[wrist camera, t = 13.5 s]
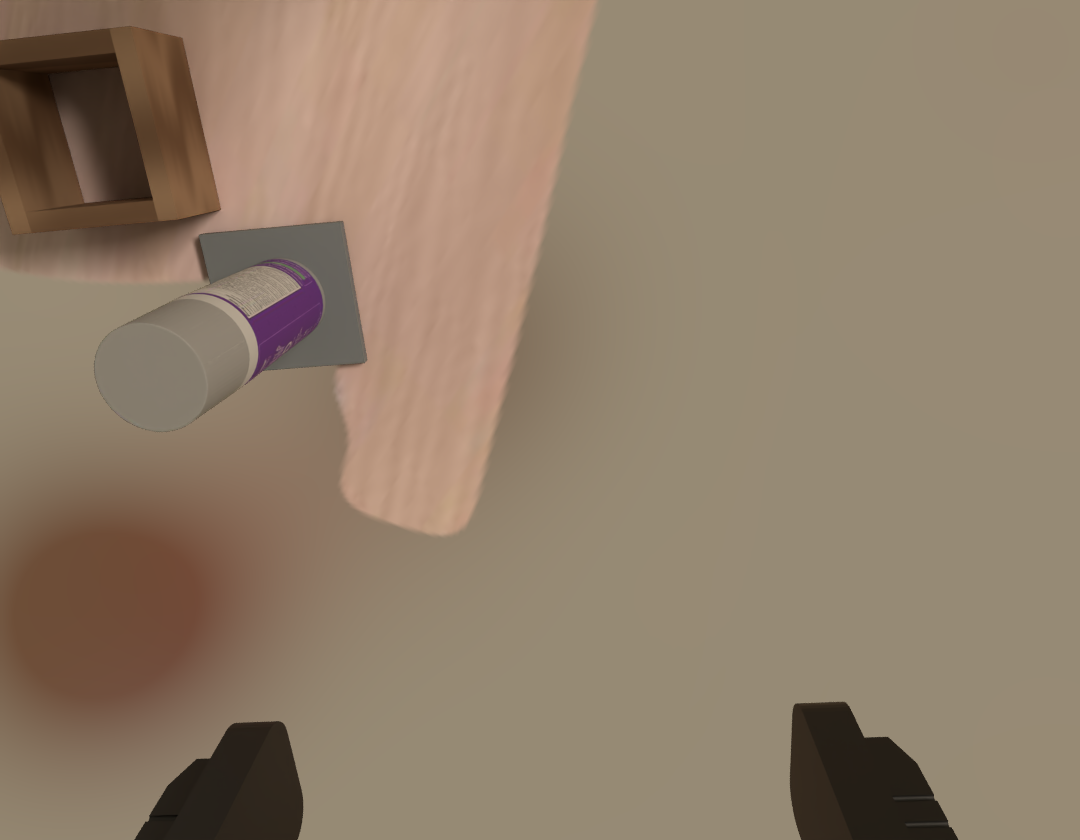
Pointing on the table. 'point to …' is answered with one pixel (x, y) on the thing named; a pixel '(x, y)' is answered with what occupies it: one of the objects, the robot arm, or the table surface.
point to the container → (206, 344)
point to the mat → (327, 261)
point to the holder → (158, 115)
